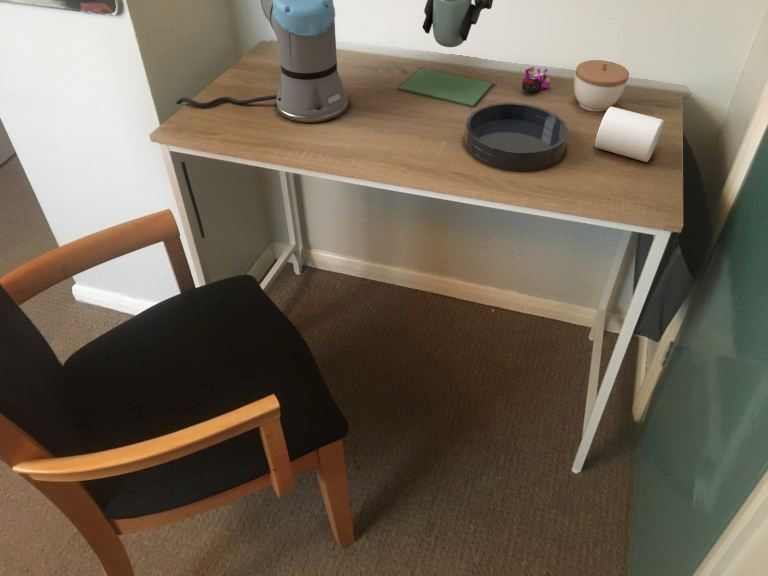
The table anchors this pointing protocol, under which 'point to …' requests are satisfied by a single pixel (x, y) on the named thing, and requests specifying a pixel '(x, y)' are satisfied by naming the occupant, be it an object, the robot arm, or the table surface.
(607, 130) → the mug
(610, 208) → the table surface
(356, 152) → the table surface
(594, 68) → the trinket box
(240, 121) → the table surface
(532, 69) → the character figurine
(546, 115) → the shallow round tray
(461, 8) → the cup
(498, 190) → the table surface
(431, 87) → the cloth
